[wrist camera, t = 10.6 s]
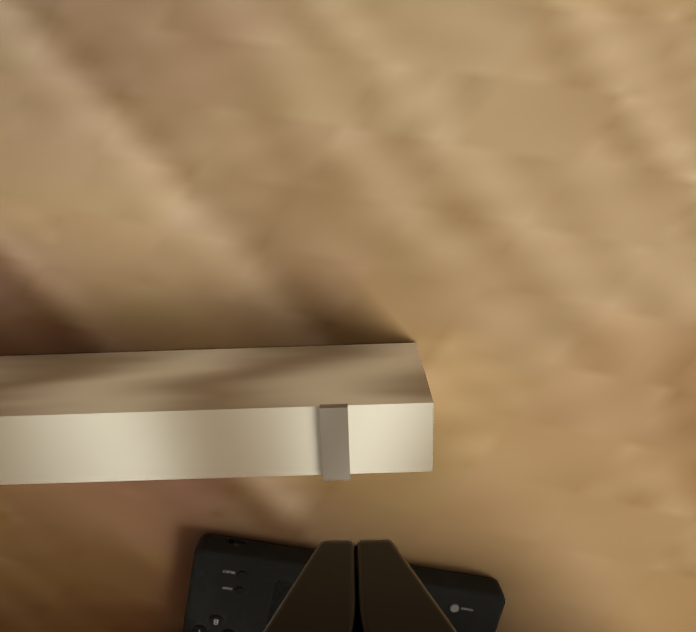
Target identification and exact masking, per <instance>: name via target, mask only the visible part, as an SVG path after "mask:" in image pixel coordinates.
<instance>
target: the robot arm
mask: <svg viewBox="0 0 696 632" xmlns="http://www.w3.org/2000/svg"><path fill="white" fill-rule="evenodd" d="M356 561H357V568H356ZM263 632H457V631H456V630H455V628H454V627H453V625H452V624H451V623H450V621H449V620H448V618H447V617H446V616H445V614H444V613H443V612H442V610H441V609H440V607H439V606H438V605H437V603H436V602H435V600H434V599H433V598H432V596H431V595H430V593H429V592H428V591H427V589H426V588H425V586H424V585H423V584H422V582H421V581H420V579H419V578H418V577H417V575H416V574H415V572H414V571H413V570H412V568H411V567H410V565H409V564H408V563H407V561H406V560H405V558H404V557H403V556H402V554H401V553H400V552H399V550H398V549H397V547H396V546H395V545H394V543H393V542H392V541H391V540H389V539H362V540H359V541H358V542H357V544H356V545H355V543H354V542H353V541H352V540H326V541H322V542H321V543H320V544H319V545H318V547H317V548H316V550H315V551H314V553H313V554H312V556H311V557H310V559H309V561H308V562H307V564H306V565H305V567H304V568H303V570H302V572H301V573H300V575H299V576H298V578H297V579H296V581H295V582H294V584H293V586H292V587H291V589H290V590H289V592H288V593H287V595H286V597H285V598H284V600H283V601H282V603H281V604H280V606H279V607H278V609H277V611H276V612H275V614H274V615H273V617H272V618H271V620H270V622H269V623H268V625H267V626H266V628H265V629H264V631H263Z"/></svg>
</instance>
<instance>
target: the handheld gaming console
mask: <svg viewBox="0 0 696 632" xmlns="http://www.w3.org/2000/svg"><path fill="white" fill-rule="evenodd" d="M313 553H314V550H307V549H301V548H295V547H288V546H282V545H275V544H269V543H263V542H256V541H250V540H244V539H237V538H232V537H224V536H217V535H210V534H206V535H203V536H202V537H201V539H200V541H199V543H198V545H197V547H196V550H195V553H194V559H193V566H192V572H191V579H190V586H189V592H188V599H187V605H186V612H185V619H184V625H183V632H263V631H264V629H265V628H266V626H267V625H268V623H269V622H270V620H271V618H272V617H273V615H274V614H275V612H276V611H277V609H278V607H279V606H280V604H281V603H282V601H283V600H284V598H285V597H286V595H287V593H288V592H289V590H290V589H291V587H292V586H293V584H294V582H295V581H296V579H297V578H298V576H299V575H300V573H301V572H302V570H303V568H304V567H305V565H306V564H307V562H308V561H309V559H310V557H311V556H312V554H313ZM410 567H411V568H412V570H413V571H414V572H415V574H416V575H417V577H418V578H419V579H420V581H421V582H422V584H423V585H424V586H425V588H426V589H427V591H428V592H429V593H430V595H431V596H432V598H433V599H434V600H435V602H436V603H437V605H438V606H439V607H440V609H441V610H442V612H443V613H444V614H445V616H446V617H447V618H448V620H449V621H450V623H451V624H452V625H453V627H454V628H455V630H456V631H457V632H495V631H496V628H497V625H498V622H499V619H500V616H501V613H502V610H503V607H504V604H505V598H504V594H503V592H502V590H501V588H500V585H499V583H498V582H497V580H495V579H492V578H486V577H479V576H473V575H467V574H460V573H454V572H448V571H441V570H435V569H429V568H422V567H416V566H410ZM356 568H357V561H356Z"/></svg>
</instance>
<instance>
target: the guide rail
mask: <svg viewBox="0 0 696 632" xmlns="http://www.w3.org/2000/svg"><path fill="white" fill-rule="evenodd" d="M432 467H433V399H432V396H431V392H430V389H429V385H428V382H427V378H426V375H425V372H424V368H423V365H422V361H421V358H420V354H419V351H418V347H417V344H416V343H388V344H358V345H327V346H296V347H265V348H235V349H204V350H173V351H142V352H111V353H81V354H50V355H19V356H0V485H10V484H42V483H74V482H105V481H137V480H169V479H201V478H233V477H265V476H297V475H323V481H331V480H350V474H360V473H392V472H424V471H432Z"/></svg>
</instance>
